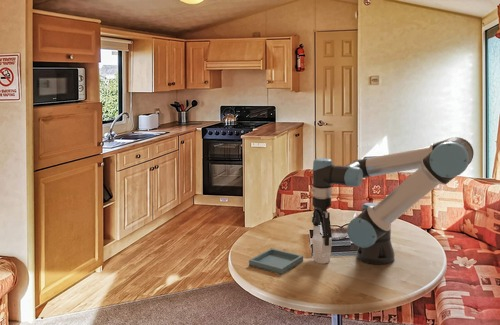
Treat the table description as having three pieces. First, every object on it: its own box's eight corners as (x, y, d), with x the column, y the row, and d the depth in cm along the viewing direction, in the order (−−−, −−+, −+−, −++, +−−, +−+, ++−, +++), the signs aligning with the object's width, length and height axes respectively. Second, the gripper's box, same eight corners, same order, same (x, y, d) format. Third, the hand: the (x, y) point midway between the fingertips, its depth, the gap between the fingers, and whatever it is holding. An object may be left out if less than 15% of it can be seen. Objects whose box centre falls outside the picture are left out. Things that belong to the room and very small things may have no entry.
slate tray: (303, 261, 197) (303, 255, 196) (281, 274, 184) (281, 268, 184) (271, 253, 206) (271, 248, 206) (249, 265, 194) (248, 260, 193)
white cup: (331, 264, 192) (331, 241, 191) (311, 263, 194) (311, 240, 192) (331, 257, 200) (332, 234, 198) (313, 256, 202) (313, 234, 200)
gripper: (305, 189, 204) (304, 236, 208) (321, 205, 179) (320, 258, 184) (322, 188, 205) (321, 235, 209) (340, 204, 180) (339, 257, 185)
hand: (321, 246), depth 196 cm, fingers open, 13 cm apart
